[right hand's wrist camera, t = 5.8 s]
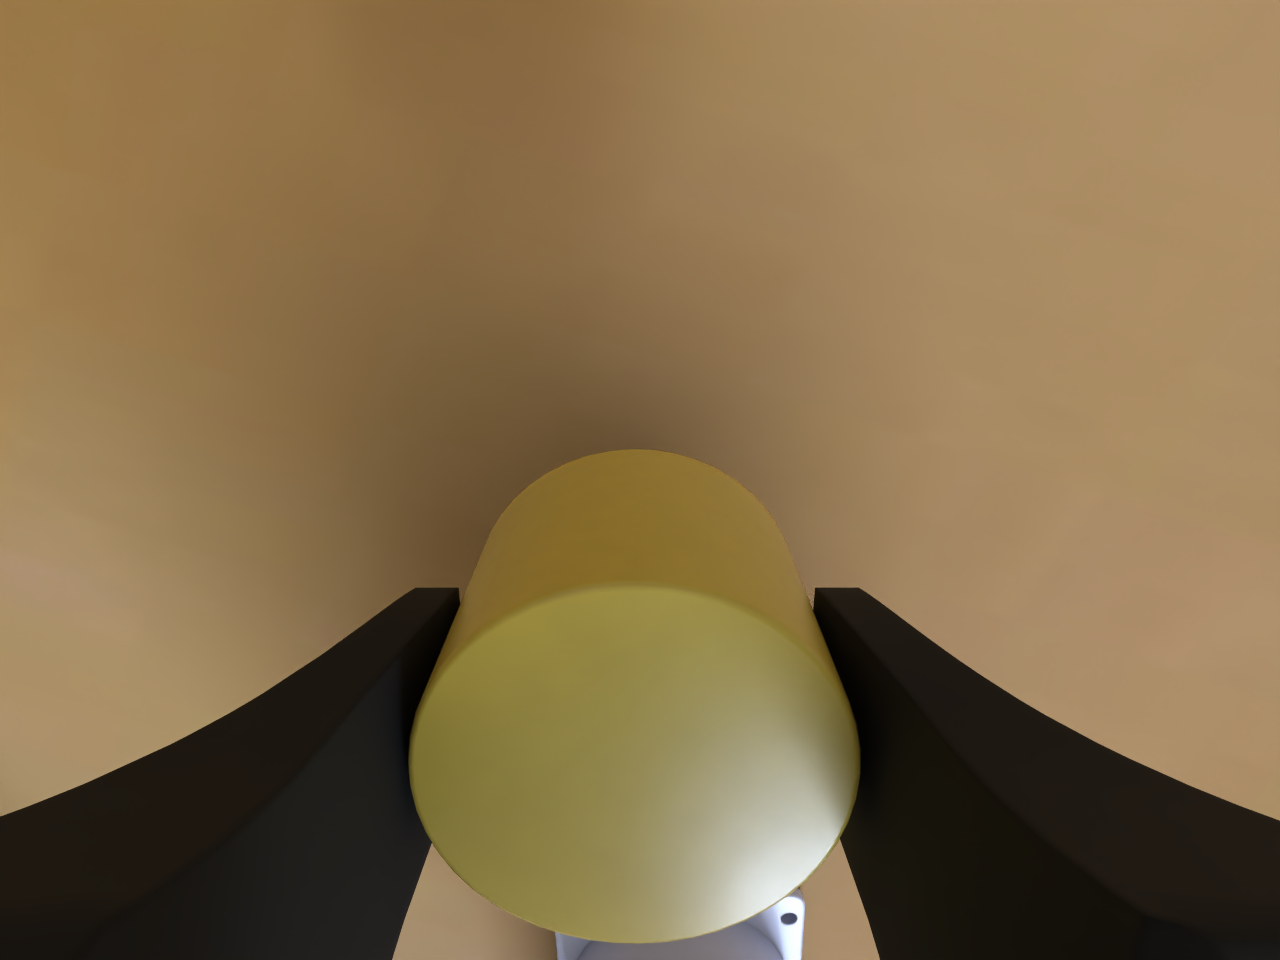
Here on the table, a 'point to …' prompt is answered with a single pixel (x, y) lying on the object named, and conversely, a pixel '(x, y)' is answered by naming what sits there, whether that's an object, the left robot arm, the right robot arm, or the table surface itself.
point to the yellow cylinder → (634, 709)
